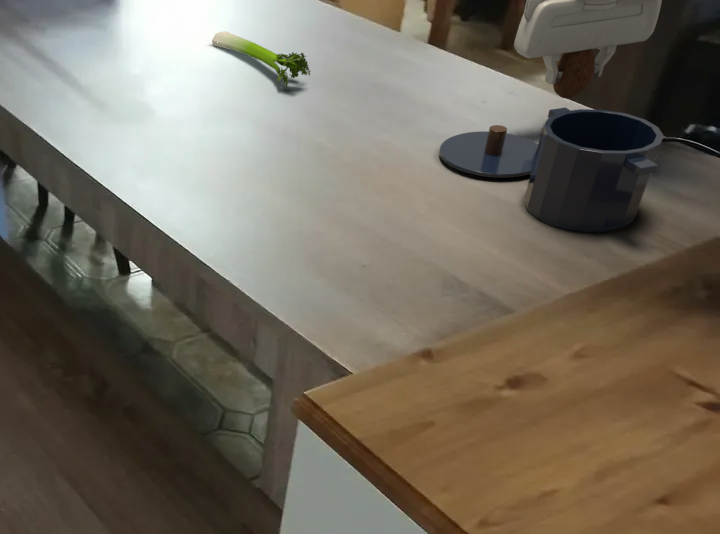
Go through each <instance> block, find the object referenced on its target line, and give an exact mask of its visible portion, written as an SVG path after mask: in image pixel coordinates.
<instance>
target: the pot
mask: <svg viewBox="0 0 720 534" xmlns="http://www.w3.org/2000/svg"><path fill="white" fill-rule="evenodd" d="M663 139H664V134H663V132H662V131H661V130H660V128H659V127H658V126H657V125H655V124H653V123H652V122H650V121H648V120H647V119H644V118H641V117H639V116H635V115H632V114H630V113H629V114H628V113H625V112H621V111H613V110H607V109H589V108H587V109H585V108H583V109H573V110H570V109H569V108H567V107H559V108H553V109H551V108H550V109H549V111H548V115H547V119H546V121H545V122H544V124H543V126H542V129H541V133H540V136H539V141H538V143H537V144H538V148H537V152H536V156H535V160H534V163H533V167H532V171H531V174H529V175H530V176H529V179H528V183H527V187H526V191H525V195H524V205H525V209H526V210H527V211H528V213H530V214H531V216H532V217H534V218H536V219H537V220H539V221H540V222H543V223H546V224H547V225H550V226H551V227H552V226H553V227H556V228H559V229H563V230H567V231H571V232H572V231H573V232H579V233H606V232H613V231H617V230H620V229H623V228H625V227H627V226H629V225H631V224H632V223H633V222H634V220H635V219H636V216H637V213H638V211H639V208H640V205H641V203H642V199H643V196H644V194H645V191H646V188H647V185H648V182H649V180H650V177H651V175H652V174H656V173H657V171H658V168H659V164H657V163H656V159H657V157H658V153H659V151H660V148H661V146H662V143H663Z"/></svg>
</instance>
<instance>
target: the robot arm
mask: <svg viewBox="0 0 720 534" xmlns="http://www.w3.org/2000/svg"><path fill="white" fill-rule="evenodd" d="M662 2H663V0H526V1H525V6H524V10H523V11H524V12H523V14H522V16H521V19H520V22H519V25H518V28H517V32H516V34H515V39H514V44H513V47H514V50H515V51H516V53H518V54H519V55H520V56H522V57H524V58H526V59H535V58H541V57H542V59H543V62H544V66H545V69H546V73H545V78H544V81H545V82H546V83H547V84H548V85H553V84H555V83H560V82H561V77H562V75H563V71H561V70H559V69H558V68H557V65H558V63H557V62H559V61H560V59H561V57H562V55H563V54H564V53H569V52H576V51H583V50H589V49H592V50H594V49H598V50H599V52H598V53H597V55H596V57H595V68H594V74H593V77H592V79H594V78H600V77H601V76H602V74H603V71H604V67H605V66H606V64H608V63H609V61H610V60H611V58H612V57H613V56H614V55H615V53H616V50H617V46H622V45H628V44H635V43H642V42H643V43H644V42H646V41H647V40H648V39H650V37H651V36H652V35H653V33H654V32H655V28H656V26H657V23H658V19H659V15H660V11H661V7H662Z"/></svg>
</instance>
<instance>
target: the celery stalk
mask: <svg viewBox="0 0 720 534" xmlns="http://www.w3.org/2000/svg"><path fill="white" fill-rule="evenodd" d="M217 42H218V43H217ZM211 43H212V46H215V47H219V48H223V49H228V50H232V51H235V52H237V53H240V54H243V55H247V56H248V57H251V58H253V59H256V60H258V61H261V62H262V63H264V64H266V65H267V66H268V67H270V68H272V69H274V70H275V72H276V73H277V75H278V77H277V82H278V83H279V82H281V81H282V80H283V83H284V86H285V89H287V90H288V89H289V88H288V87H289V79H295V78H298V77H299V72H300V73H301V76H303V75H305V76H307V75H308V76H310V75H311V70H310V67H309V66H310V65H309V63H308V61H307V59H306V57H307V55H305V54H304V53H303V52H300V54H298V53H297V52H295V53H294V52H293V51H292V52H291V53H288V54H286V53H285V54H284V53H275V52H274V51H272V50H270V49H268V48H265V47H263V46H261V45H260V44H257V43H256V42H253V41H250V40H248V39H246V38H243V37H241V36H238V35H236V34H233V33H231V32H229V31H218V32H216V33H215V34H214V35H213V38H212V39H211ZM278 64H279V65H280V66H281V67H279V65H278ZM282 66H283V67H285V68H284V69H283V67H282ZM288 69H289V73H290V74H288V73H287V71H288ZM289 76H290V77H289Z"/></svg>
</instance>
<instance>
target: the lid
mask: <svg viewBox="0 0 720 534" xmlns="http://www.w3.org/2000/svg"><path fill="white" fill-rule="evenodd" d="M538 144H539V143H538V142H535V141H533V140H531V139H529V138H526V137H525V136H524V137H523V136H520V135H516V134H514V133H513V134H512V133H508V127H506V126H504V125H499V124H494V125H491V126H489V129H488V131H486V130H485V131H470V132H463V133H459V134H456V135H452V136H450V137H448V138H447V139H445V140H444V141H442V143H441V144H440V146H439V150H438V151H439V156H440V158H441V159H442V160H443V162H444V163H445V164H447V165H448V166H450V167H451V168H454V169H455V170H458V171H461V172H463V173H467V174H471V175H474V176H481V177H488V178H499V179H501V178H504V179H505V178H518V177H524V176H528V175H531V171H532V167H533V163H534V160H535V156H536V152H537V148H538Z"/></svg>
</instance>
